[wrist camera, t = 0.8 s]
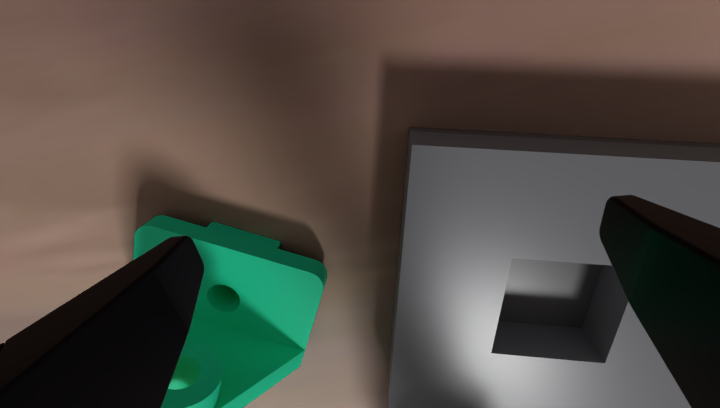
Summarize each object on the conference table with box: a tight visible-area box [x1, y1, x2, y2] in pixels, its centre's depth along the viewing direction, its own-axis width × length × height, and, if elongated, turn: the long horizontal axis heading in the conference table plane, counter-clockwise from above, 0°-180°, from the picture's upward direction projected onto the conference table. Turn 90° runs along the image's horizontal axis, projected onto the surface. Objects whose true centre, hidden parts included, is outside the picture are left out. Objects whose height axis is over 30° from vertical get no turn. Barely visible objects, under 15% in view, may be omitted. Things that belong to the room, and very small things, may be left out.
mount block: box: [388, 127, 720, 408], centre depth 23 cm, size 18×18×4 cm
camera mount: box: [133, 215, 327, 408], centre depth 23 cm, size 12×8×10 cm, turn 74°
